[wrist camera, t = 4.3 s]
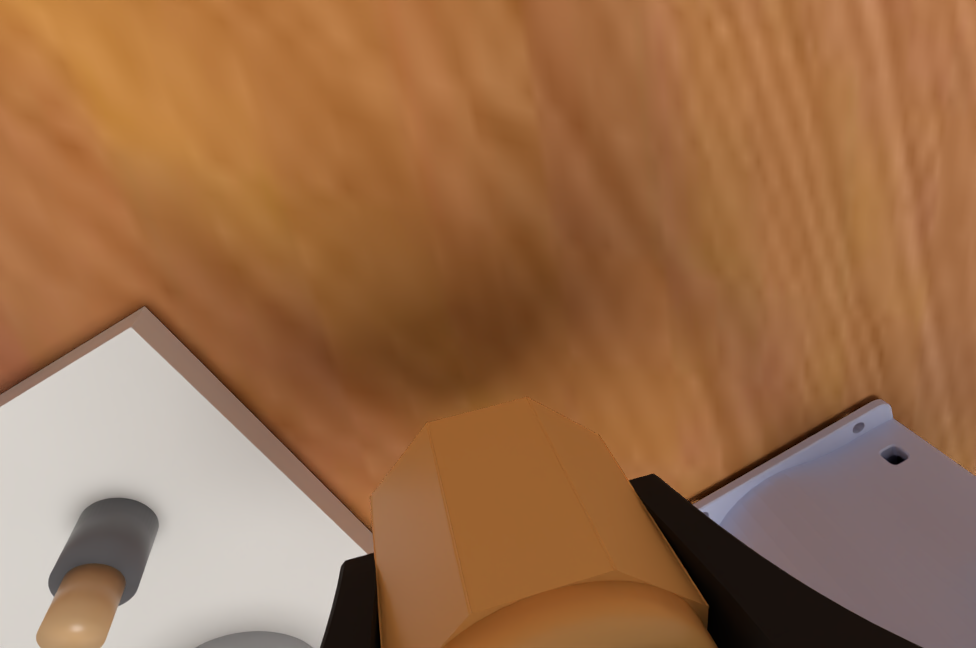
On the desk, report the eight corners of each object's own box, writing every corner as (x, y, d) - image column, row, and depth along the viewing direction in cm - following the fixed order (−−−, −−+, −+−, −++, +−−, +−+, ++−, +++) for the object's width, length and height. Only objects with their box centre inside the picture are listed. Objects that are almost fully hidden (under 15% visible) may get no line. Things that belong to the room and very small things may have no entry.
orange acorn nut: (596, 378, 13) (755, 597, 8) (606, 546, 15) (732, 790, 10) (351, 440, 12) (362, 723, 7) (405, 606, 14) (439, 897, 10)
